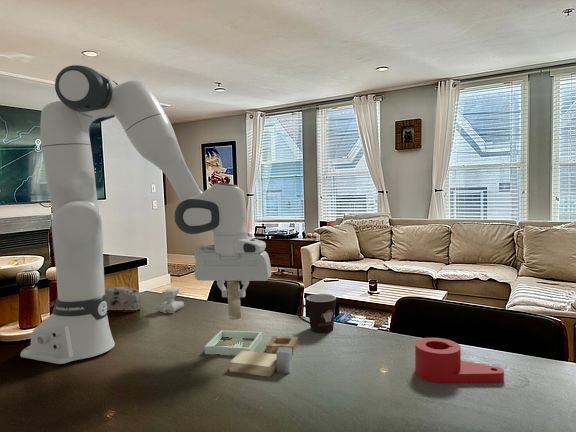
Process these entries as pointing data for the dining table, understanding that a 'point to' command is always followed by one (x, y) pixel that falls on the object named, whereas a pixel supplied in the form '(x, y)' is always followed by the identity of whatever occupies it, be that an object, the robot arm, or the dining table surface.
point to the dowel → (233, 300)
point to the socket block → (281, 343)
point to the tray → (234, 350)
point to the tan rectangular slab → (254, 363)
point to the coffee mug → (320, 312)
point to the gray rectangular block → (284, 359)
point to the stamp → (170, 301)
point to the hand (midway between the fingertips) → (233, 296)
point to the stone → (122, 298)
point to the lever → (450, 364)
